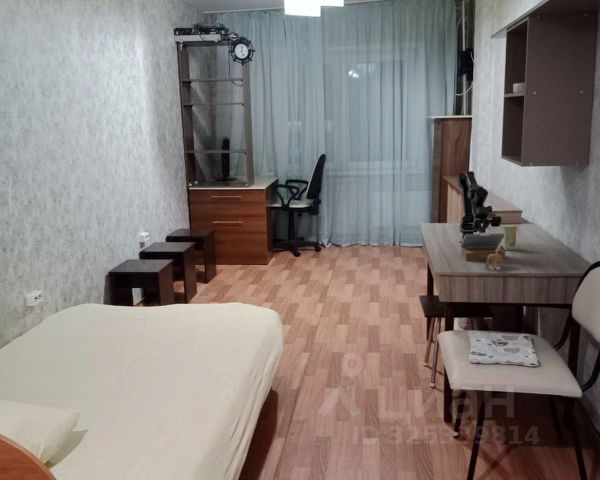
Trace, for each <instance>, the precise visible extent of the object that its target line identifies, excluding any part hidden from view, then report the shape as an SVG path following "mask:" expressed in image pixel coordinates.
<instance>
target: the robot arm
mask: <svg viewBox="0 0 600 480" xmlns="http://www.w3.org/2000/svg"><path fill="white" fill-rule="evenodd" d="M456 176H457V177H456V182H457V186H458V188H459V189H460V190H461V195H462V206H463V208H462V209H463V216H462V217H461V220H460V224H459V227H458V231H459V233H461V234H462V237H461V241H459V243H460V244H461V243H462V241H463V239H464V236H465V234H481V233H486V230H487V229H488V228H489V226H491V227H492V228H494V227H496V228H497V227H500V226H501V223H502V220H503V219H502V216H500V215H497V216H496V215H492V216H491V218H488V217H489V214H492V212H493V207H492V205H487V206H485V205H484V204H485V203H486V200H487V199H488V198H487V197H488V196H489V191H488V190H487V189H486V188H484V186H481V185H478V183H477V180H476V178H475V172H474V171H472V170H470V171H464V172H461V173H459V174H458V175H456Z"/></svg>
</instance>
